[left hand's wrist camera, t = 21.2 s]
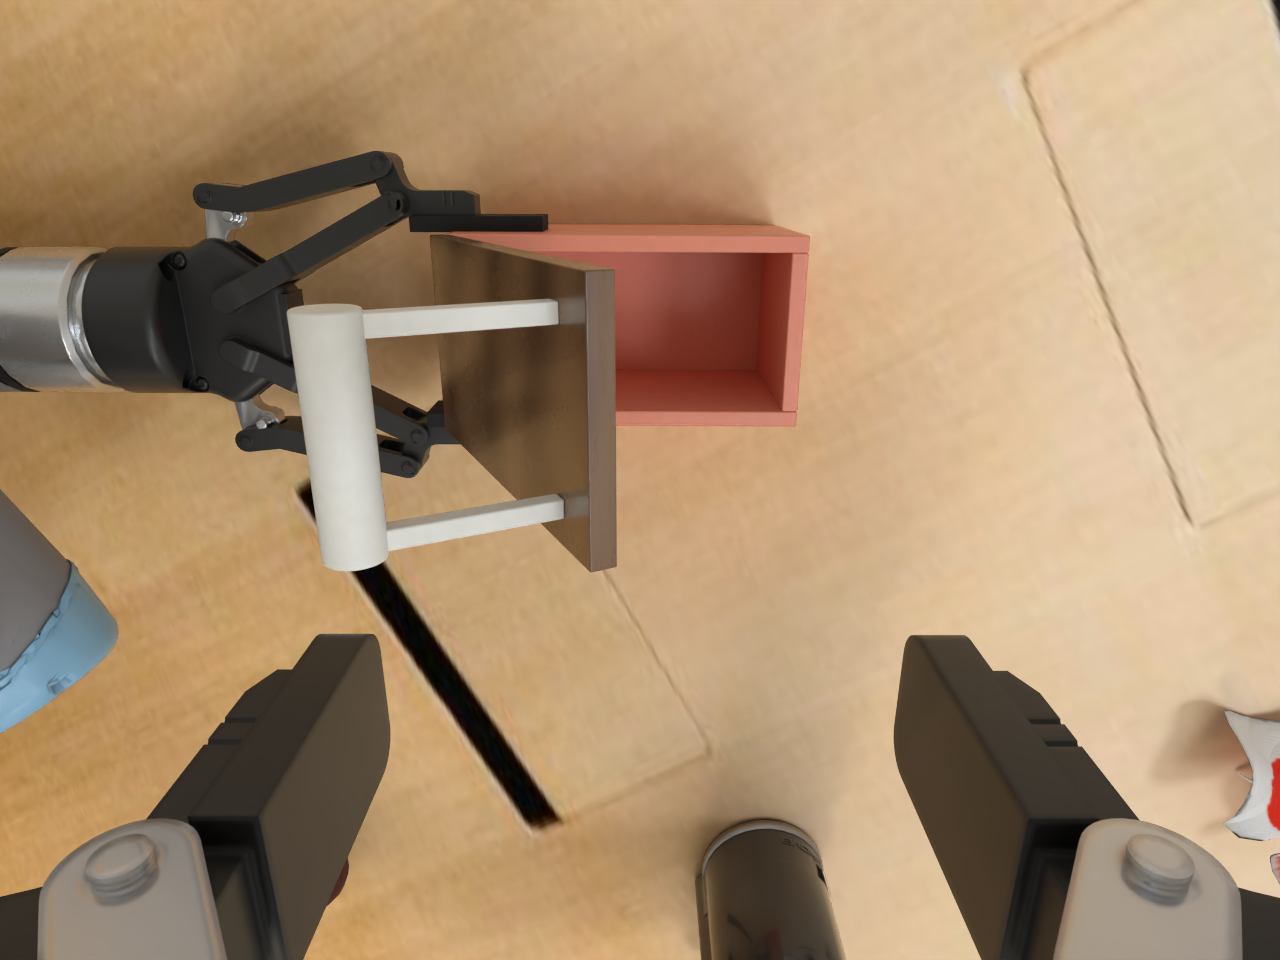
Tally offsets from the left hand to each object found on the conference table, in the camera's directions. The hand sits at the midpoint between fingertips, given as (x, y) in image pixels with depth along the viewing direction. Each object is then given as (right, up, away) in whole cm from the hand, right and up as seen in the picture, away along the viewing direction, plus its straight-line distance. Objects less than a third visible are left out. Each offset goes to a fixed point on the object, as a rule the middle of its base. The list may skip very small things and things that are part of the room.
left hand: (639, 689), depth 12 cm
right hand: (-5, +11, +31) cm, 34 cm away
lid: (-5, +7, +20) cm, 22 cm away
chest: (-1, +14, +38) cm, 40 cm away
